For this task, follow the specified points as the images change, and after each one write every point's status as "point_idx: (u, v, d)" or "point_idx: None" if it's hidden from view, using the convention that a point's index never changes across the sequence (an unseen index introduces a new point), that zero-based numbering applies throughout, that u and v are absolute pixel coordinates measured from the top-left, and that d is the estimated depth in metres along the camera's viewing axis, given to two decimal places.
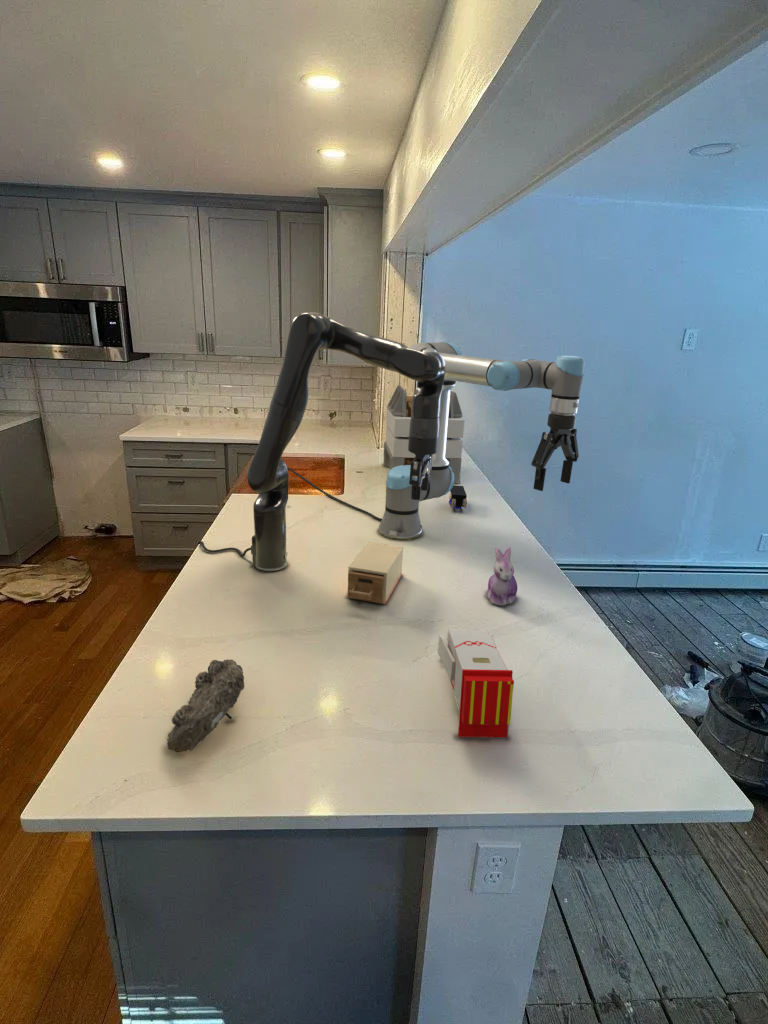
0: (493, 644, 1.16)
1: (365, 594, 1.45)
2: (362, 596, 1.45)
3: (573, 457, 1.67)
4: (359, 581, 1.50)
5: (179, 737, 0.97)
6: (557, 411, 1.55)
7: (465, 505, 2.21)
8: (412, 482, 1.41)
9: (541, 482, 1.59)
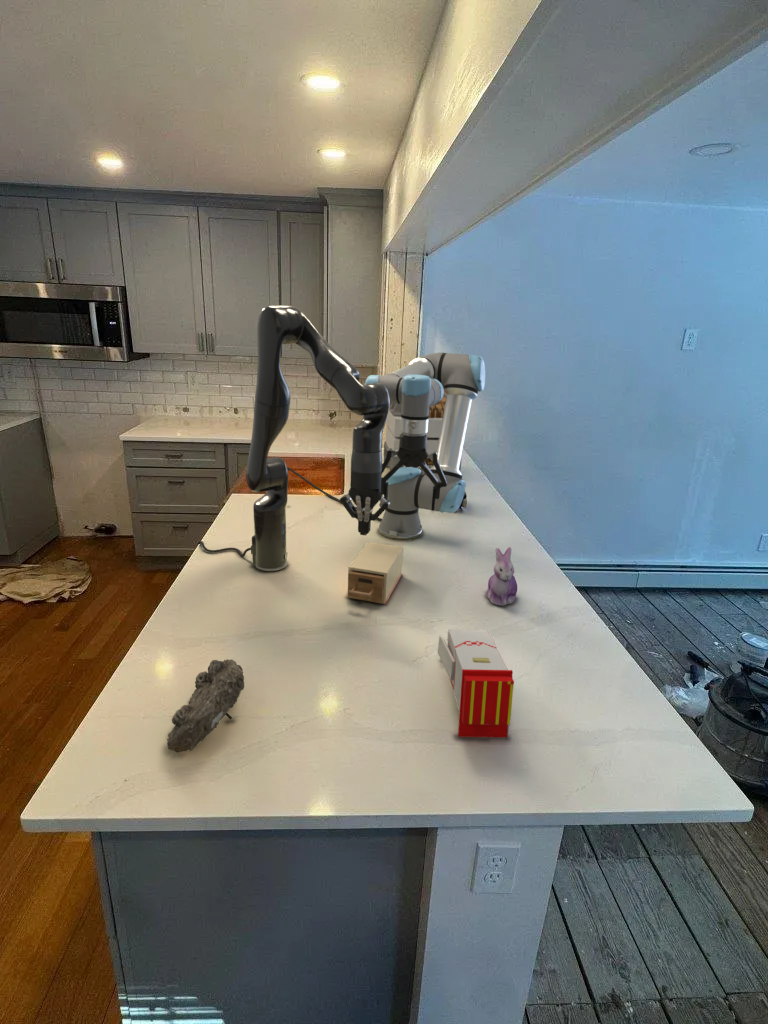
0: (493, 644, 1.16)
1: (365, 594, 1.45)
2: (362, 596, 1.45)
3: (436, 484, 1.57)
4: (359, 581, 1.50)
5: (179, 737, 0.97)
6: (400, 429, 1.54)
7: (465, 505, 2.21)
8: None
9: None
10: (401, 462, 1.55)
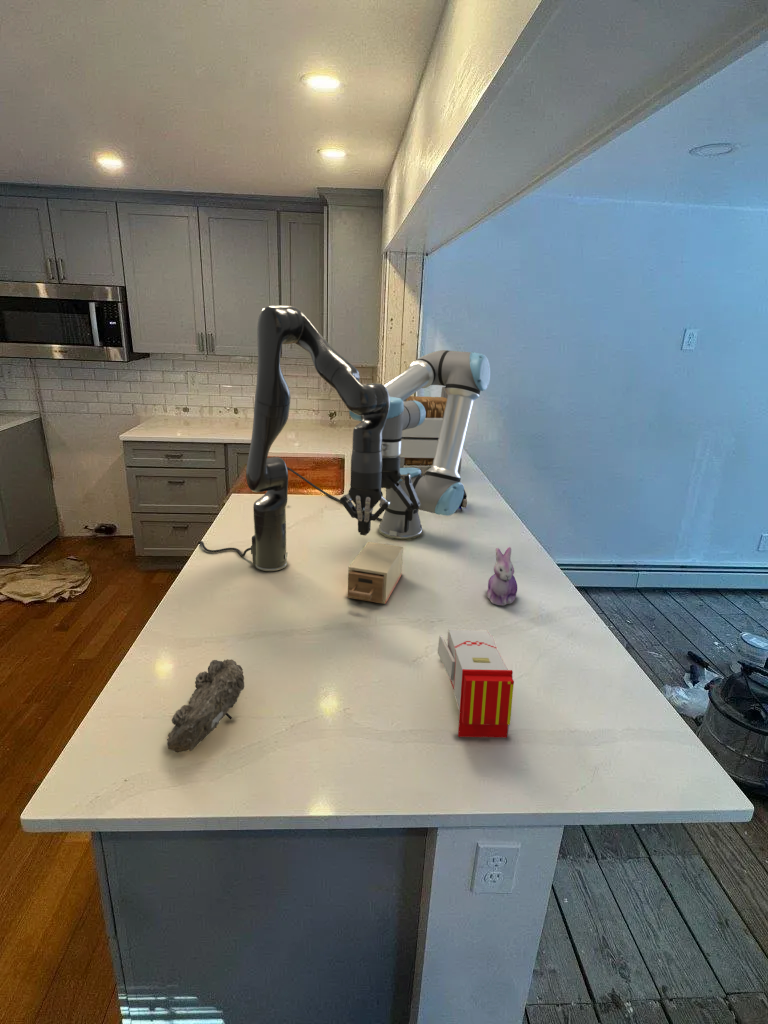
0: (493, 644, 1.16)
1: (365, 594, 1.45)
2: (362, 596, 1.45)
3: (408, 506, 1.57)
4: (359, 581, 1.50)
5: (179, 737, 0.97)
6: None
7: (465, 505, 2.21)
8: None
9: None
10: None
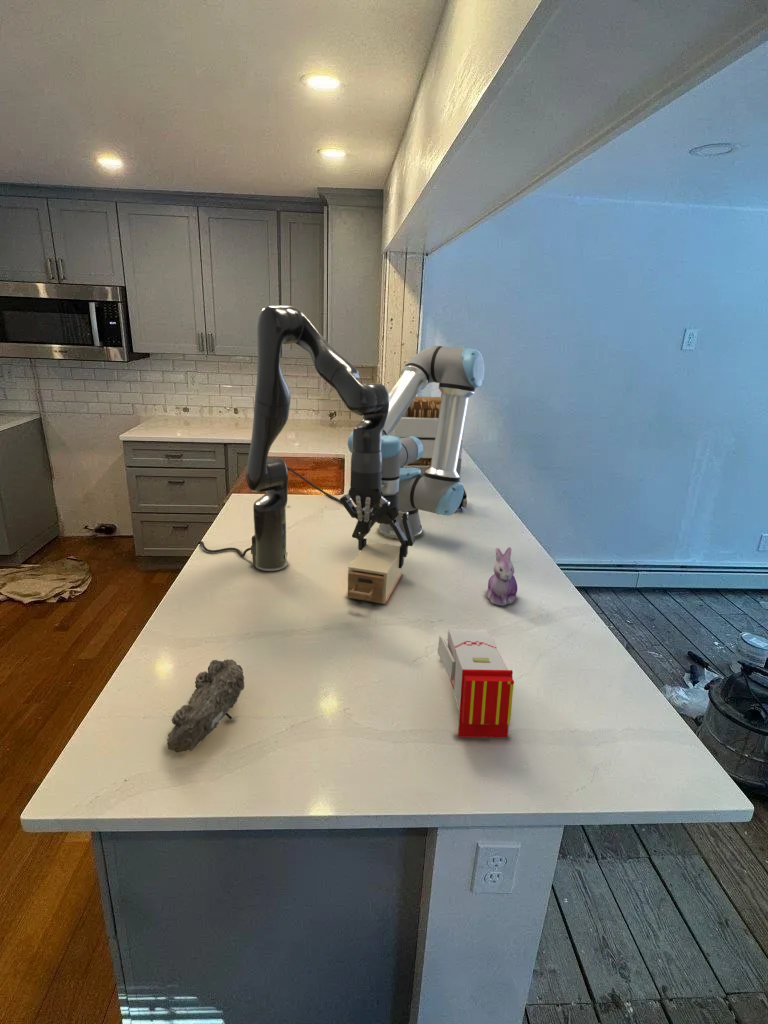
0: (493, 644, 1.16)
1: (365, 594, 1.45)
2: (362, 596, 1.45)
3: (403, 543, 1.61)
4: (359, 581, 1.50)
5: (179, 737, 0.97)
6: None
7: (465, 505, 2.21)
8: None
9: None
10: None
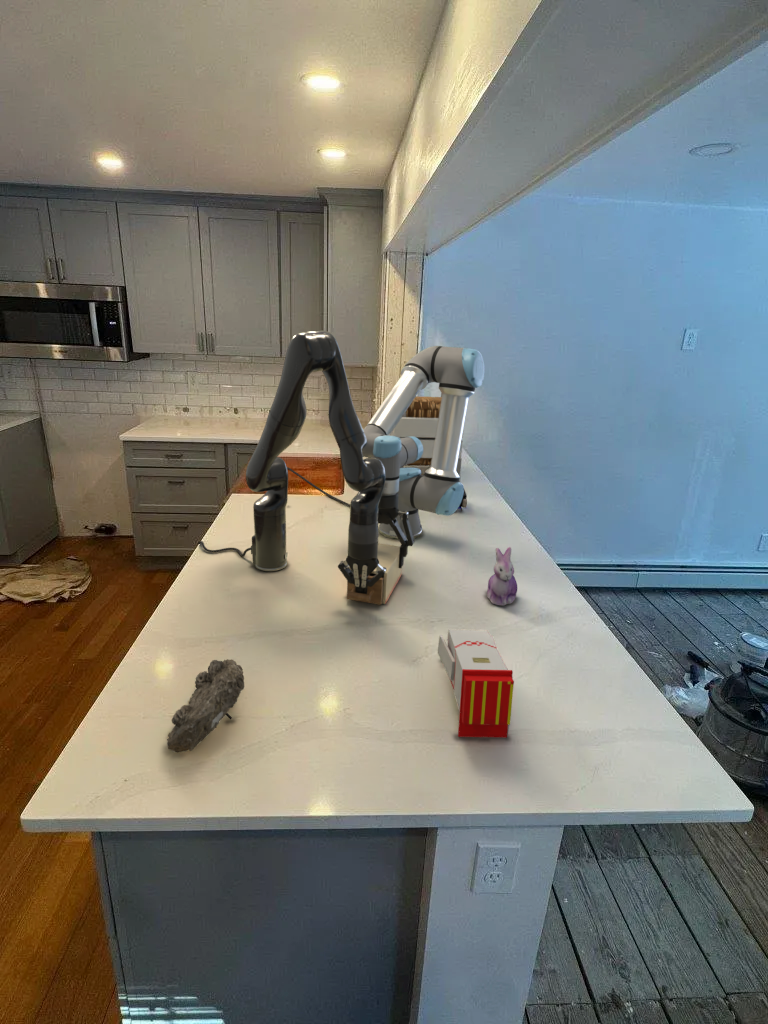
0: (493, 644, 1.16)
1: (364, 595, 1.44)
2: (361, 597, 1.44)
3: (403, 543, 1.61)
4: None
5: (179, 737, 0.97)
6: None
7: (465, 505, 2.21)
8: None
9: None
10: None
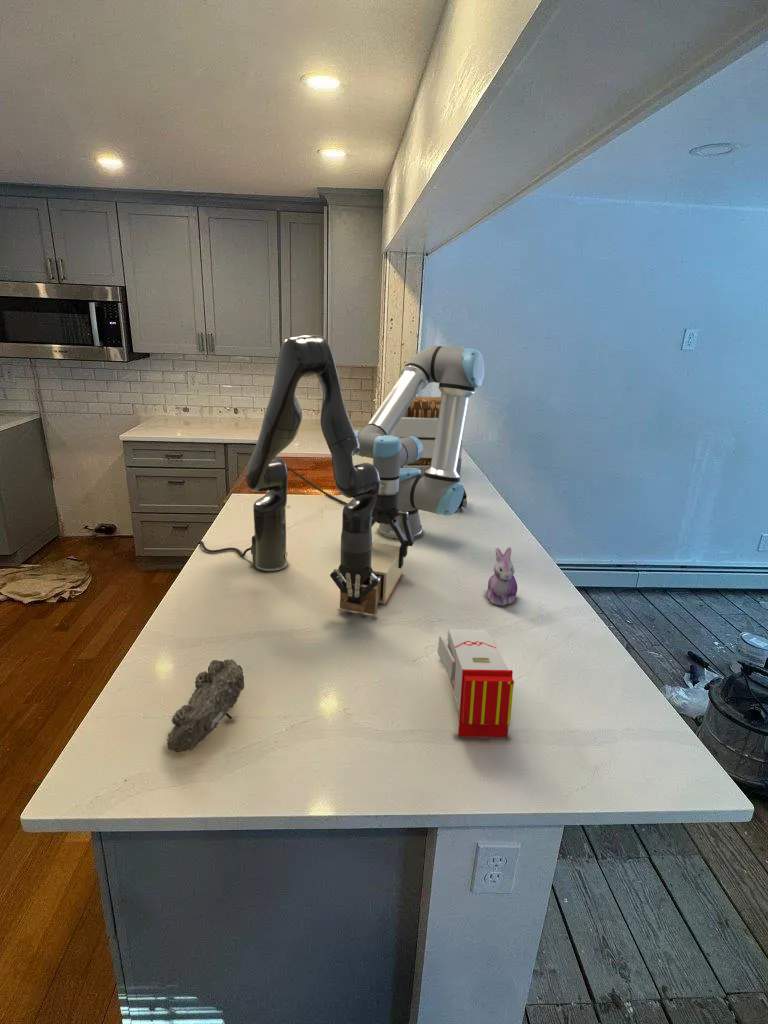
0: (493, 644, 1.16)
1: (357, 605, 1.39)
2: (354, 607, 1.39)
3: (403, 543, 1.61)
4: None
5: (179, 737, 0.97)
6: None
7: (465, 505, 2.21)
8: None
9: None
10: (373, 519, 1.60)
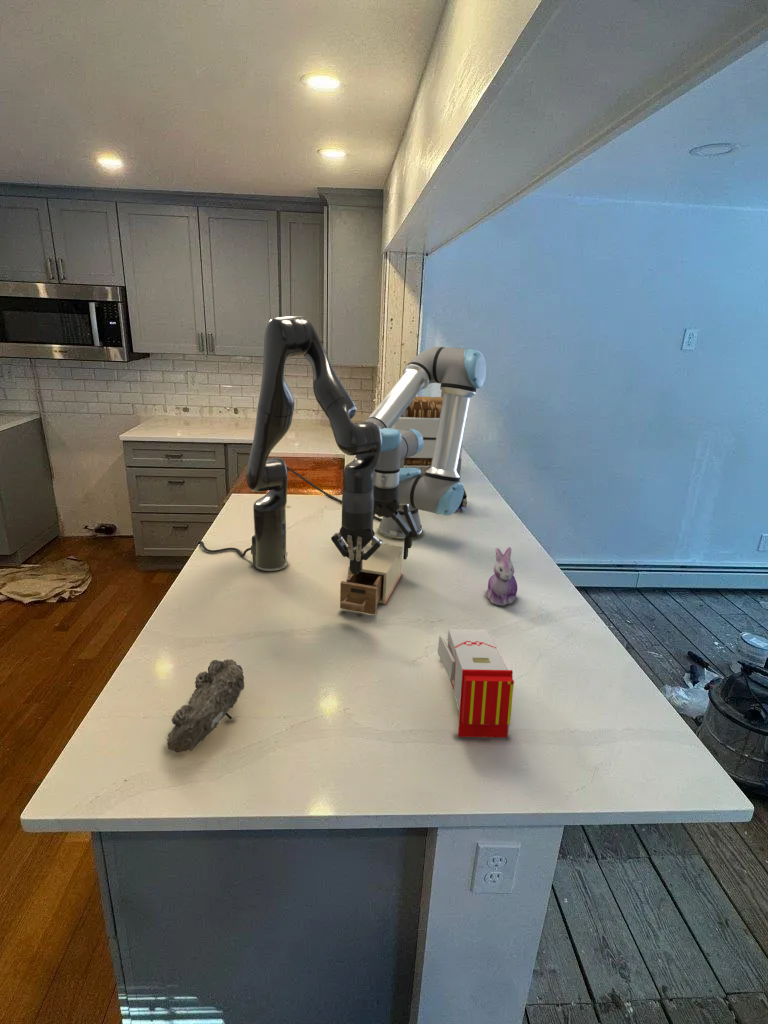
0: (493, 644, 1.16)
1: (357, 605, 1.40)
2: (354, 607, 1.40)
3: (407, 534, 1.60)
4: (352, 591, 1.45)
5: (179, 737, 0.97)
6: None
7: (465, 505, 2.21)
8: None
9: None
10: (373, 512, 1.60)
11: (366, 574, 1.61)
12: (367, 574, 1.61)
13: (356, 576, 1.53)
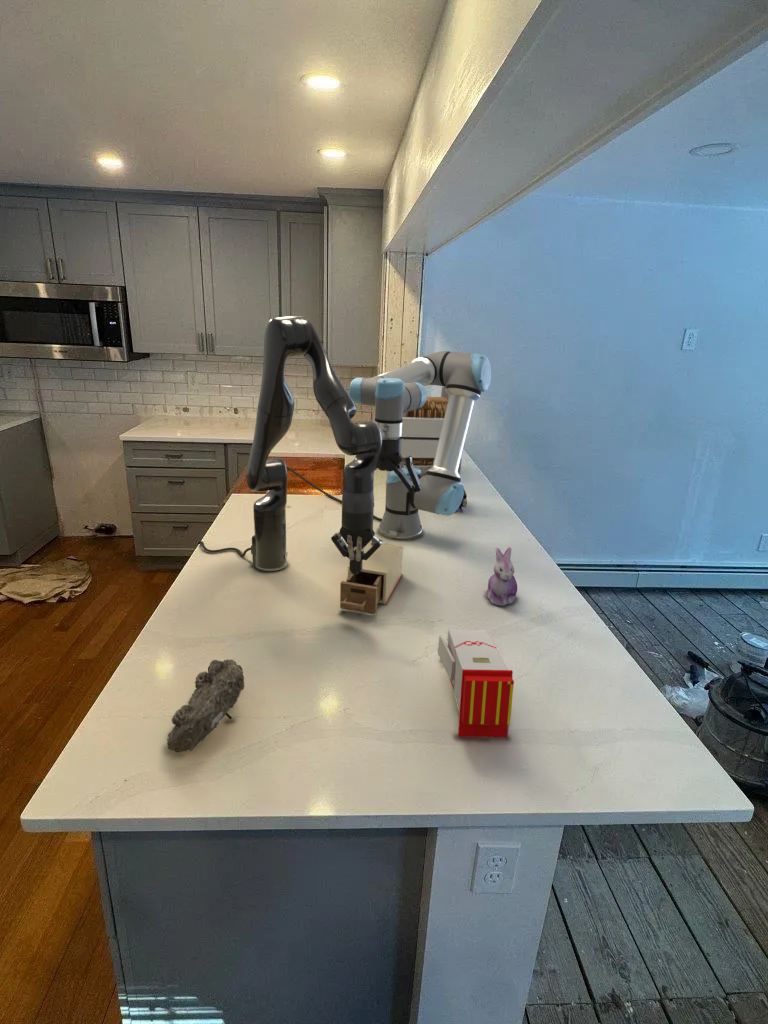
0: (493, 644, 1.16)
1: (357, 605, 1.40)
2: (354, 607, 1.40)
3: (410, 488, 1.55)
4: (352, 591, 1.45)
5: (179, 737, 0.97)
6: None
7: (465, 505, 2.21)
8: None
9: None
10: None
11: (366, 574, 1.61)
12: (367, 574, 1.61)
13: (356, 576, 1.53)
